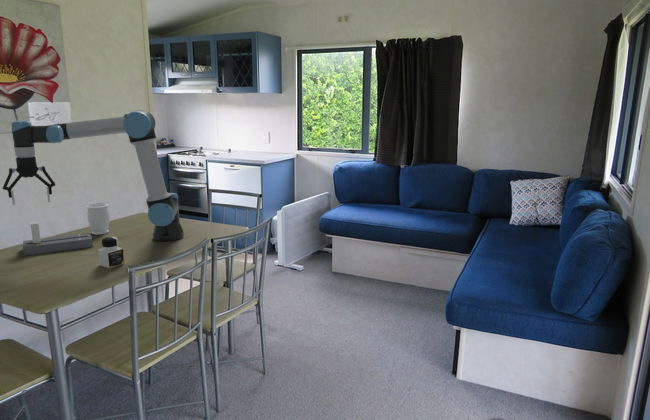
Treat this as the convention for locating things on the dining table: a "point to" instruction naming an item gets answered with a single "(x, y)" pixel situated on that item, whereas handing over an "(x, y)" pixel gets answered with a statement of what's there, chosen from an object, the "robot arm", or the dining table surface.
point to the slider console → (57, 244)
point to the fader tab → (35, 232)
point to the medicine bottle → (110, 253)
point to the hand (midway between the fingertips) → (32, 203)
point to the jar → (98, 218)
